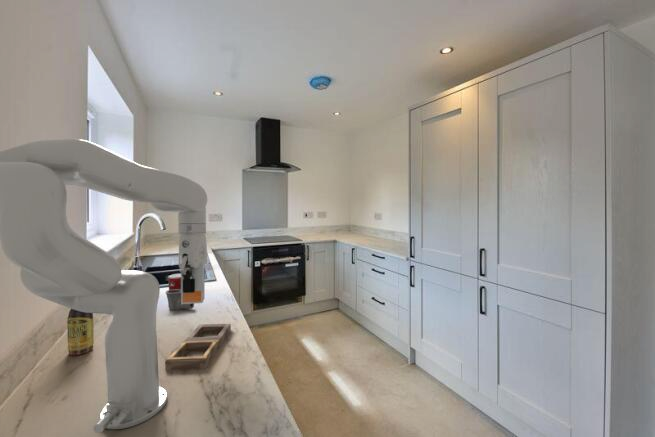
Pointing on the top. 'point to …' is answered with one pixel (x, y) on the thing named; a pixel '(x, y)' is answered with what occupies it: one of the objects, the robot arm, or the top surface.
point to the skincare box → (199, 287)
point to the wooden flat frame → (198, 347)
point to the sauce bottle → (80, 332)
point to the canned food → (174, 281)
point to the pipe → (176, 300)
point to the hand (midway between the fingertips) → (193, 289)
